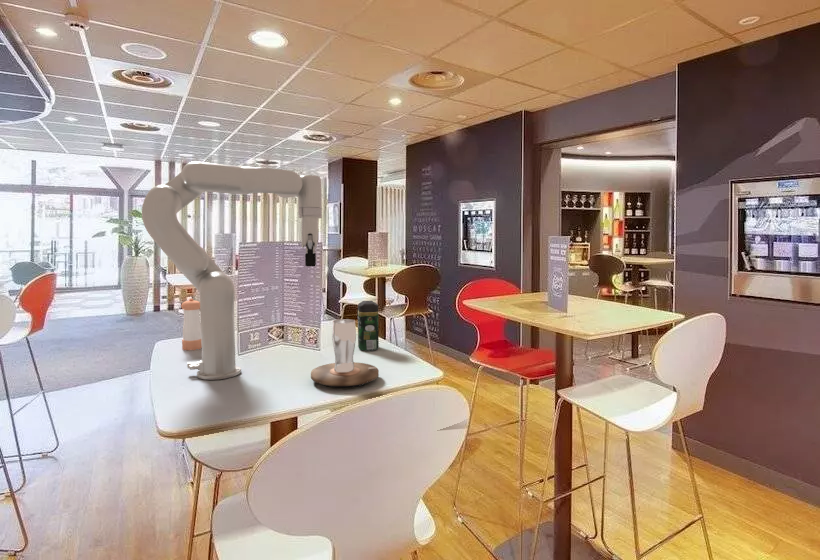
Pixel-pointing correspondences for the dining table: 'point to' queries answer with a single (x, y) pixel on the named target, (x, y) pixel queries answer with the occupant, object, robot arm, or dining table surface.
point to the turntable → (344, 375)
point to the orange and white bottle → (191, 325)
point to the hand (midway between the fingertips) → (310, 265)
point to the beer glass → (344, 345)
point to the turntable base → (344, 386)
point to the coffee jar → (368, 326)
